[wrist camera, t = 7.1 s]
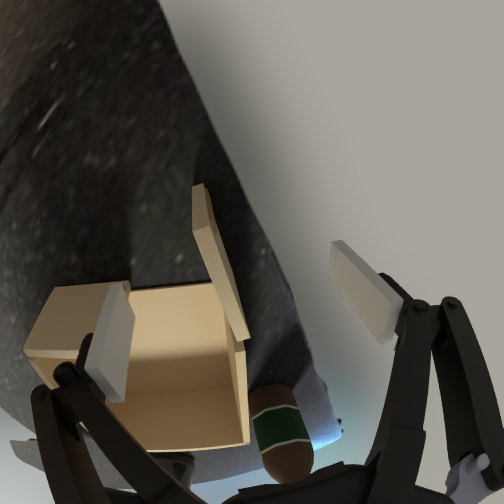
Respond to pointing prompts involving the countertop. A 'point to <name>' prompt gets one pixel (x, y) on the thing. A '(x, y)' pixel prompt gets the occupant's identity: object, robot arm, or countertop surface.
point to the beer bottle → (280, 433)
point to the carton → (179, 372)
